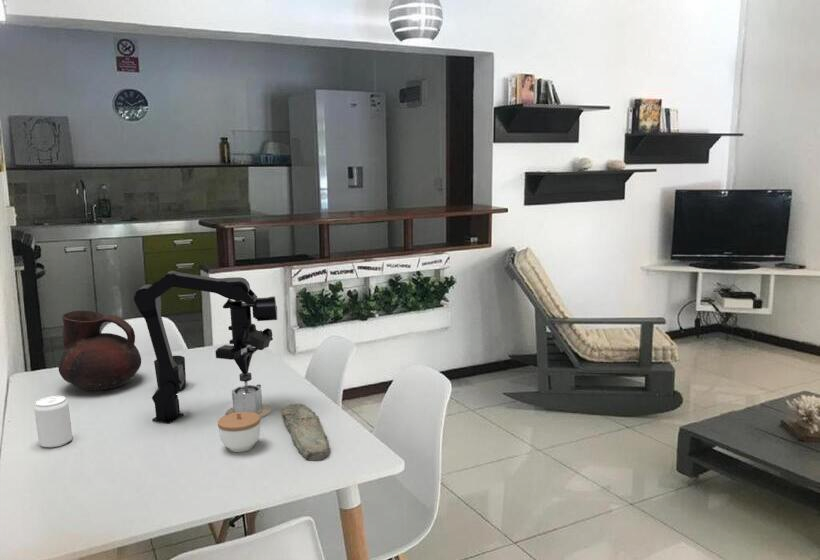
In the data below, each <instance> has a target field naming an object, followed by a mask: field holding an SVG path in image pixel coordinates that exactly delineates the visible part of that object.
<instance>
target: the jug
mask: <svg viewBox="0 0 820 560" xmlns="http://www.w3.org/2000/svg"><path fill="white" fill-rule="evenodd" d="M61 318H62V320H63V328H62V342H63V347H64V350H63V352H62V354H61V355H60V358H59V361H58V372H59V375H60V376H61V378H62V379H63V380H64V381H65V382H67V383H69V384H71V385H72V386H74V387H76V388H79V389H82V390H87V391H103V390H110V389H113V388H117V387H119V386H121V385H123V384H126V383H127V382H129V381H130V380H131V379H132V378H133V377H134V376H135V375H136V374H137V373H138V371H140V368H141V366H142V356H141V354H140V351H139V350H138V347H137V346H136V345H135V344H136V343H135V342H136V335H135V334H136V333H135V331H134V328H133V327H132V325H131V324H129V322H127V320H125V319H123V318H121V317H120V316H118V315H105V314H103V313H101V312H99V311H98V312H95V311H92V310H73V311H69V312H66V313H63V314H62V315H61ZM105 322H108V323H112V324H115V325H116V326H118V327H119V328H120V329H122V330H123V332H125V334H126V337H127V338H126V337H125V336H122V335H119V334H115V333H109V332H108V333H107V332H103V333H102V332H100V330H101V327H102V325H103V323H105Z"/></svg>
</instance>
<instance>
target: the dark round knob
mask: <svg viewBox="0 0 820 560" xmlns="http://www.w3.org/2000/svg"><path fill="white" fill-rule="evenodd" d="M252 379H253V377H252V373H251V372H249V371H248V373H247V374H243V373H242V372H241V373H240V374H239V381H240V382H244V386H245V388H244V389H240V390H238V391H237V394H249V393H254V392H256V389H254V388H248V385H249V384H248V382H249V381H251V380H252Z"/></svg>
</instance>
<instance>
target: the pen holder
mask: <svg viewBox="0 0 820 560" xmlns="http://www.w3.org/2000/svg"><path fill="white" fill-rule="evenodd" d="M172 356H173V360H174V361H175V363H176V364H177V365H180V364H182V366H183V372H184V374H185V375H186V373H187V372H186V360H185V359H186V358H185V356H182V355H172ZM153 363H154V371H155V378H156V383H157V384H156V385H157V388H158V387H159V380H158V375H159V366H158V362H157V359H154V361H153ZM186 378H187V377H185V379H184V383H183V385H182V387H181V389H180V391H179V392H182V391H184V390H185V389H186V387H187V379H186Z"/></svg>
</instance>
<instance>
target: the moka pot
mask: <svg viewBox="0 0 820 560" xmlns="http://www.w3.org/2000/svg"><path fill="white" fill-rule="evenodd" d="M244 388H245V385H239V386H237V387H235V388H234V389H232V390H231V398H232V407H231V408H229V409H227V410H226V412H225V413H224V416H225V415H227V414H231V413H235V412H254V413H257V414H258V415H259V416H260V419H262V418H265V417H266V416H267V415H269V414H270V413H271V407H270V406H269V405H267V404H264V403H263V396H262V395H263V394H262V385H261V384H260V383H258V384H256V385H253V384H248V388H254V389H256V392H254V393H249V394H237V391H238V390H240V389H244Z"/></svg>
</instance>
